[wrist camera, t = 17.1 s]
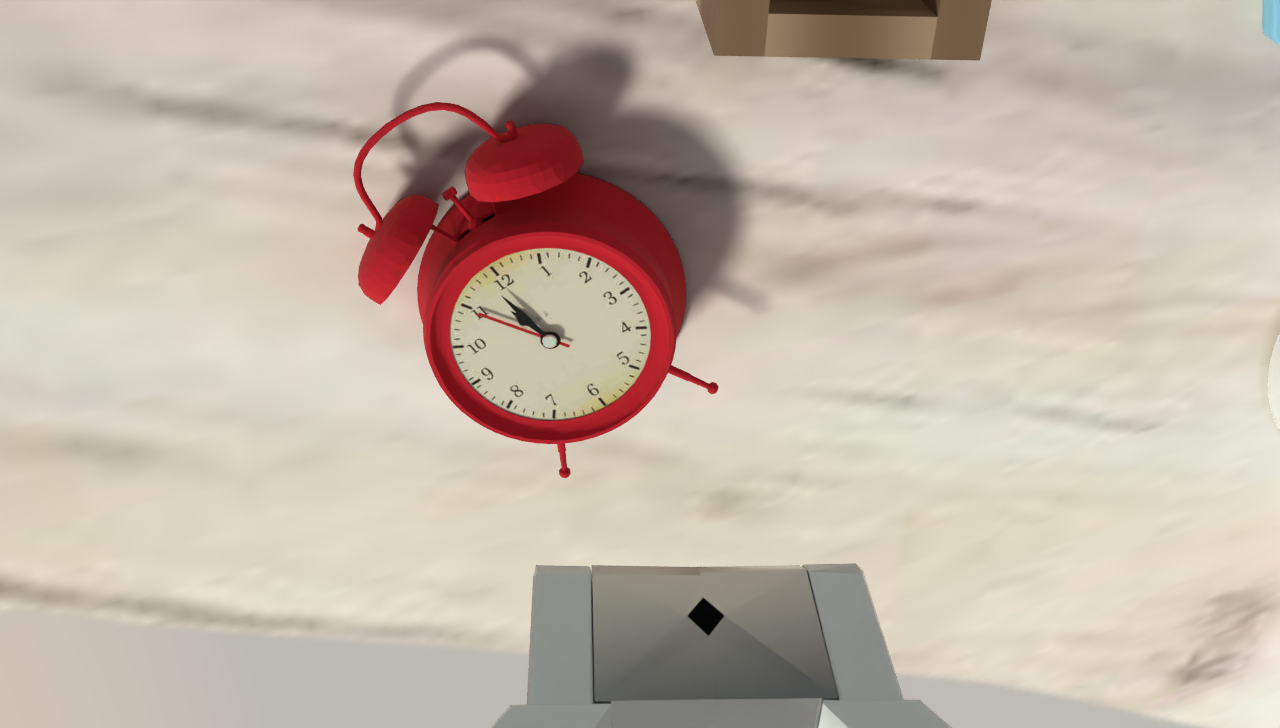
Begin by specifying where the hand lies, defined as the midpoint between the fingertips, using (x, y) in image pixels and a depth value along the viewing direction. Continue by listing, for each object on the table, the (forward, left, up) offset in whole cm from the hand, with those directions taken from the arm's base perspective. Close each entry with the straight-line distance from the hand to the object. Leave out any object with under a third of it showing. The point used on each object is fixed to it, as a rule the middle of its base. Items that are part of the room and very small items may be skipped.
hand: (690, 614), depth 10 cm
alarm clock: (+3, +12, -32) cm, 34 cm away
